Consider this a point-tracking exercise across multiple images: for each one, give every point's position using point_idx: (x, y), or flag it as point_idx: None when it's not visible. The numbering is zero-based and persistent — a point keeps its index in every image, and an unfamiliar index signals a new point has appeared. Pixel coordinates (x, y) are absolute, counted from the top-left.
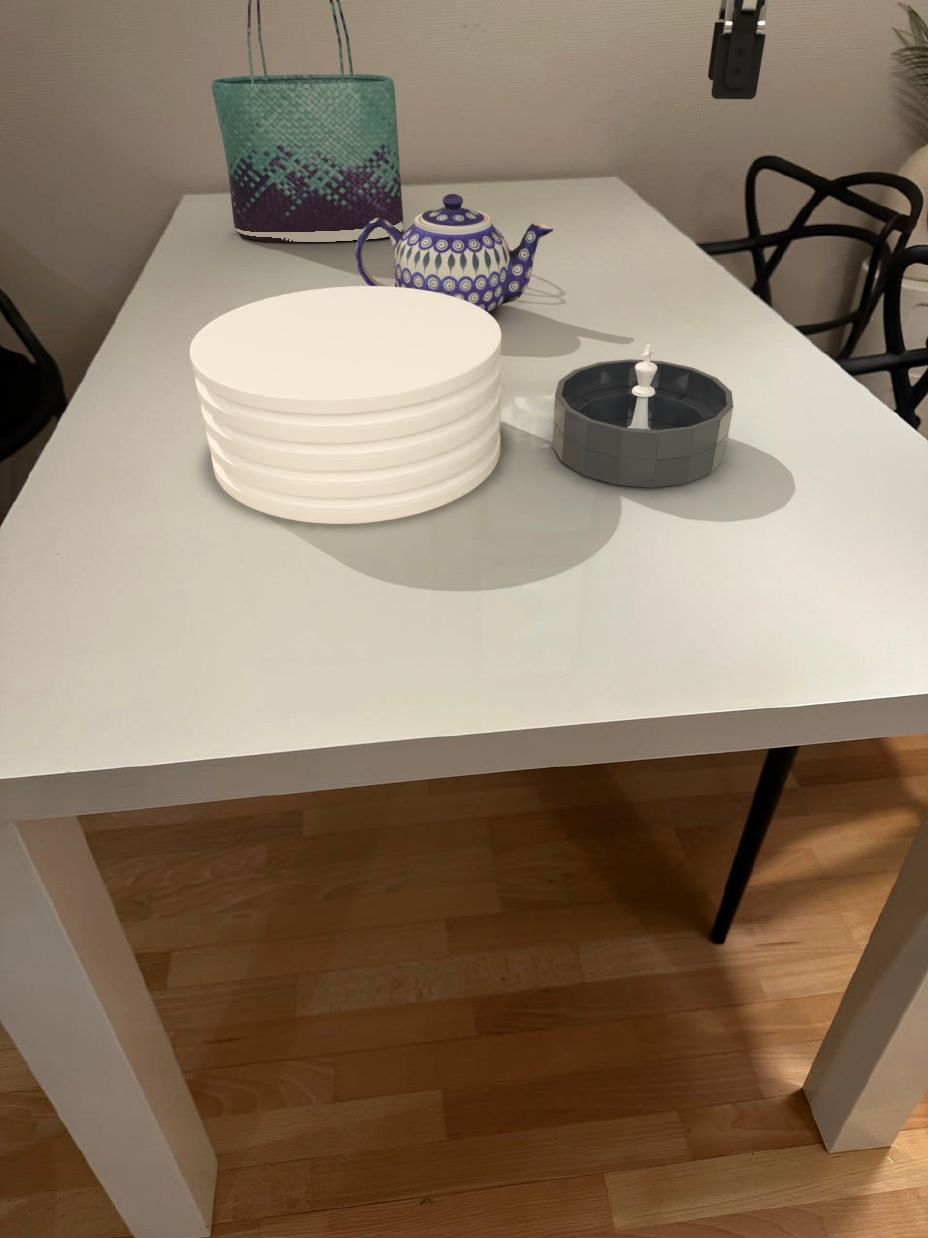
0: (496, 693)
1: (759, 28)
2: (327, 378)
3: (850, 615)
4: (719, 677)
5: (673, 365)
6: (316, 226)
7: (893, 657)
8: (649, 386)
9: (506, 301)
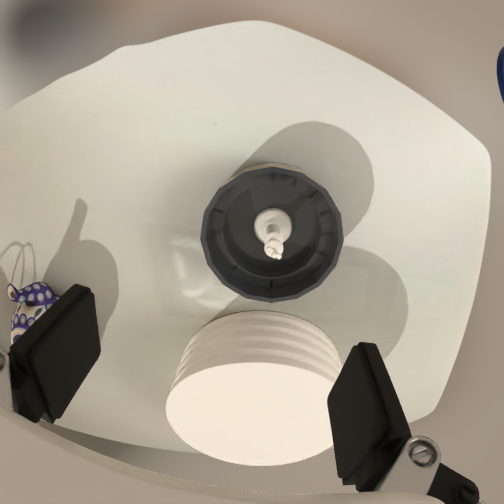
0: (458, 311)
1: (430, 452)
2: (322, 428)
3: (453, 154)
4: (475, 230)
5: (214, 204)
6: None
7: (477, 150)
8: (274, 238)
9: (53, 292)
